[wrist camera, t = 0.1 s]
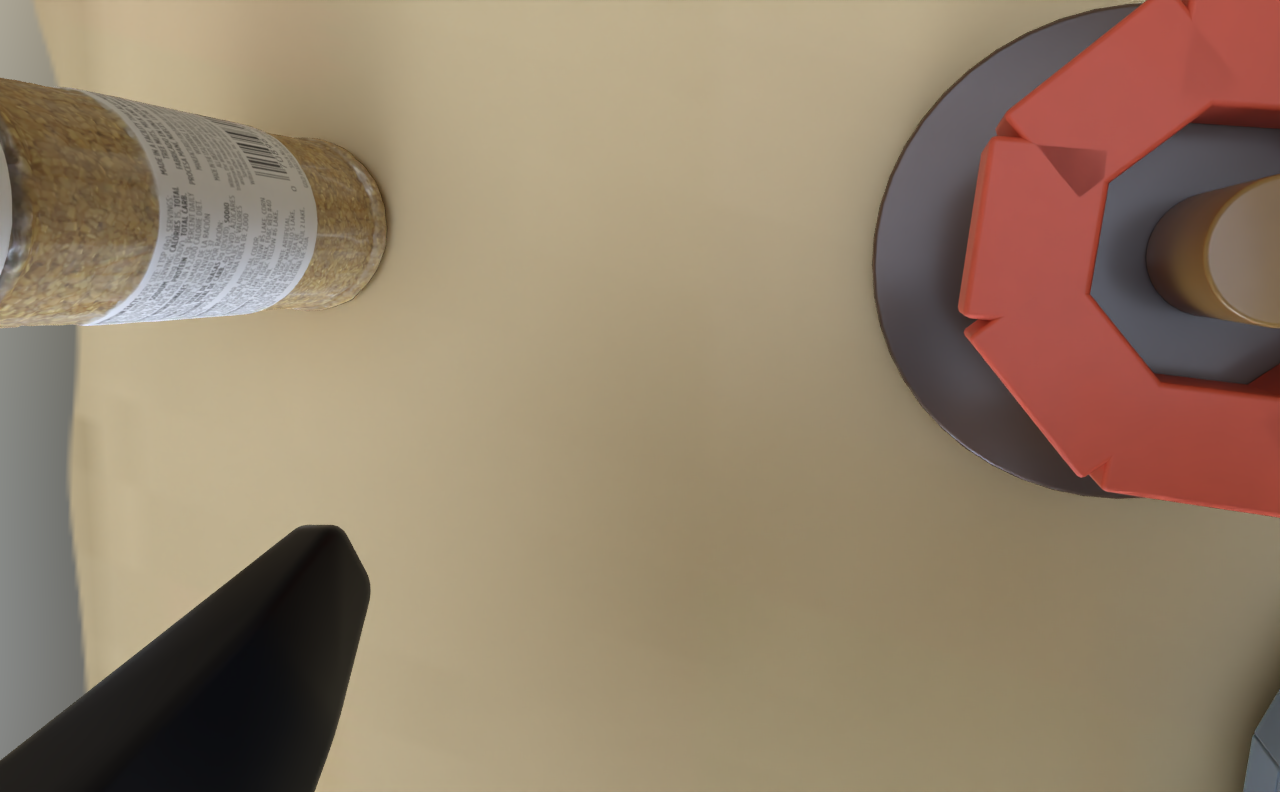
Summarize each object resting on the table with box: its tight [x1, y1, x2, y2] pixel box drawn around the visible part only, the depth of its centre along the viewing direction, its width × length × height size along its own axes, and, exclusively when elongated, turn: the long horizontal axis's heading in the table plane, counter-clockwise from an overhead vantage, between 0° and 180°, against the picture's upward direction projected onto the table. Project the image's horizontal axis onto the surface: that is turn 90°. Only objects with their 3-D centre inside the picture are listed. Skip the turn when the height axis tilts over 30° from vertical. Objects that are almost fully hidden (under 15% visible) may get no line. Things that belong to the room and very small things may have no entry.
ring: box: [958, 0, 1280, 518], centre depth 14 cm, size 7×7×2 cm
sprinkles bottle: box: [0, 78, 387, 328], centre depth 20 cm, size 5×5×13 cm
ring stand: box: [872, 3, 1280, 499], centre depth 17 cm, size 10×10×11 cm
